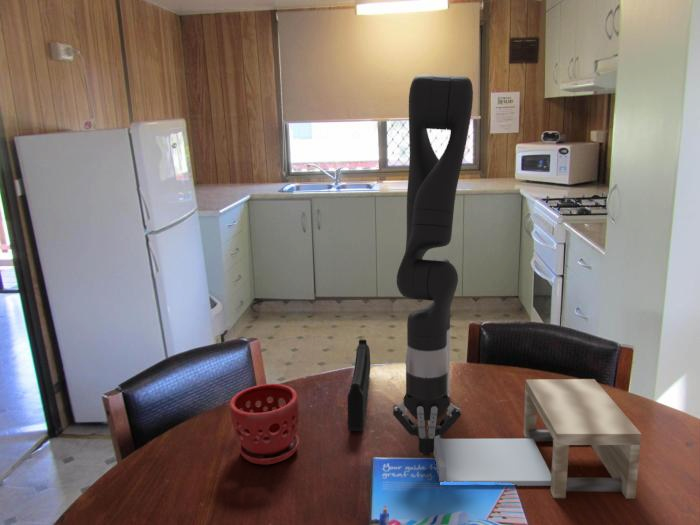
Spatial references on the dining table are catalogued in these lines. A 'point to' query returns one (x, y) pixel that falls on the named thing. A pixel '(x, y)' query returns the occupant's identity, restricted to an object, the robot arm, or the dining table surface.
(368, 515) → the dining table surface
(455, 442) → the slab
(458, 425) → the dining table surface
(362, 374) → the magazine
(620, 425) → the small table
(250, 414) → the plant pot
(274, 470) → the dining table surface
